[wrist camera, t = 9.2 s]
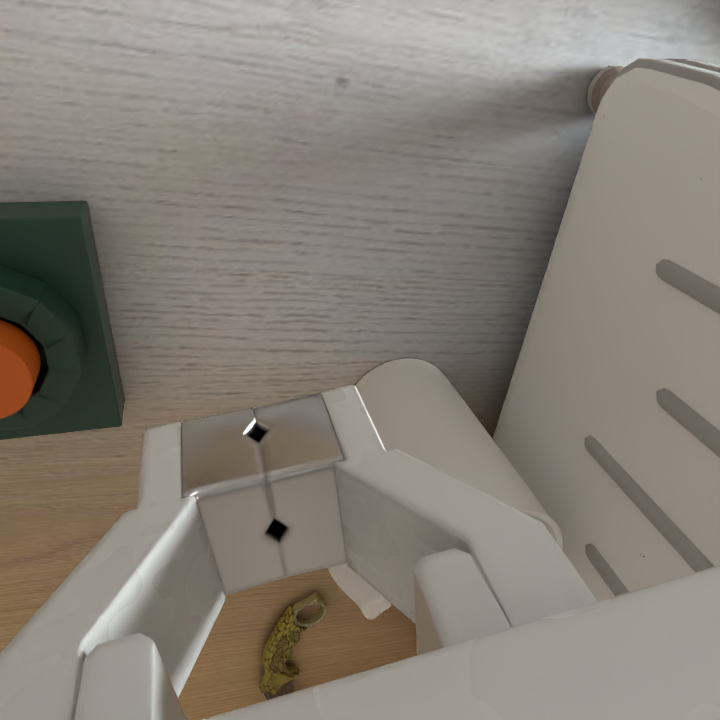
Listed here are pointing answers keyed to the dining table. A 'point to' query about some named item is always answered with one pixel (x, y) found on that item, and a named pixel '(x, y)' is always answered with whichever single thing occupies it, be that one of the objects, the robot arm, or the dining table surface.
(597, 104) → the toaster
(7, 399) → the button
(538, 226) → the dining table surface
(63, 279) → the button box
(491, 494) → the mug
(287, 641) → the knife
